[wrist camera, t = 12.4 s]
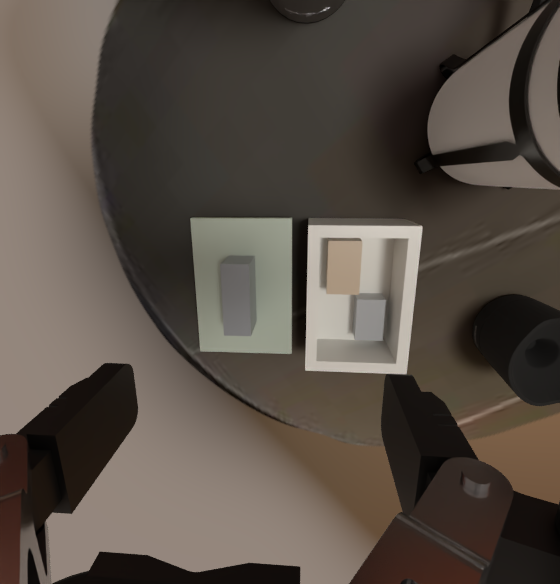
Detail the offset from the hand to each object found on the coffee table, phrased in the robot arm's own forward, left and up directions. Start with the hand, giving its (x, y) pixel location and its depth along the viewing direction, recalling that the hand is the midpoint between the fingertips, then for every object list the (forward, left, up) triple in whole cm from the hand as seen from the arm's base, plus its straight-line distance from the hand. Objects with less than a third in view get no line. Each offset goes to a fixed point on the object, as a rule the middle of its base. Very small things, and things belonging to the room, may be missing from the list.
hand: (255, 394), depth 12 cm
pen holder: (+11, +26, -34) cm, 44 cm away
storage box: (+6, +7, -34) cm, 35 cm away
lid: (+6, -6, -34) cm, 35 cm away
